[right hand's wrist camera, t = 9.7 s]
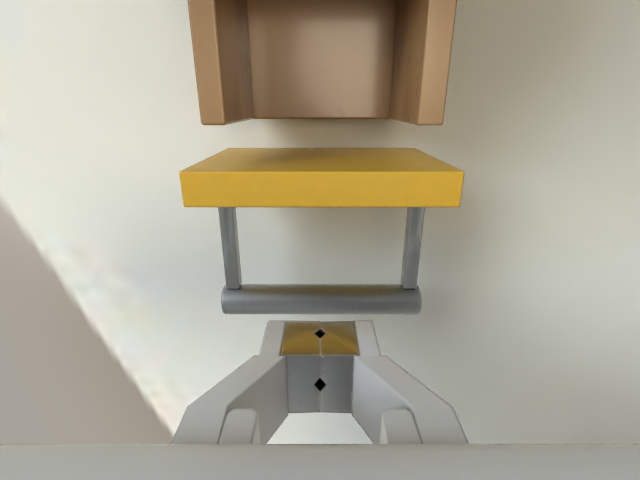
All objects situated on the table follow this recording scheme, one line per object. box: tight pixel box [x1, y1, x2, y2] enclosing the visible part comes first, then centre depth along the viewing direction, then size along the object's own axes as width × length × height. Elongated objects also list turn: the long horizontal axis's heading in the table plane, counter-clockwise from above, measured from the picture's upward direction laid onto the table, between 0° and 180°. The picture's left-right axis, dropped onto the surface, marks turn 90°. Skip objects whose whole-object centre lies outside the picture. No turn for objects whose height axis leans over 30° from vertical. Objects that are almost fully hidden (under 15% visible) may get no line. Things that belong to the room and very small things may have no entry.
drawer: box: [179, 0, 464, 314], centre depth 13 cm, size 22×9×6 cm, turn 0°
